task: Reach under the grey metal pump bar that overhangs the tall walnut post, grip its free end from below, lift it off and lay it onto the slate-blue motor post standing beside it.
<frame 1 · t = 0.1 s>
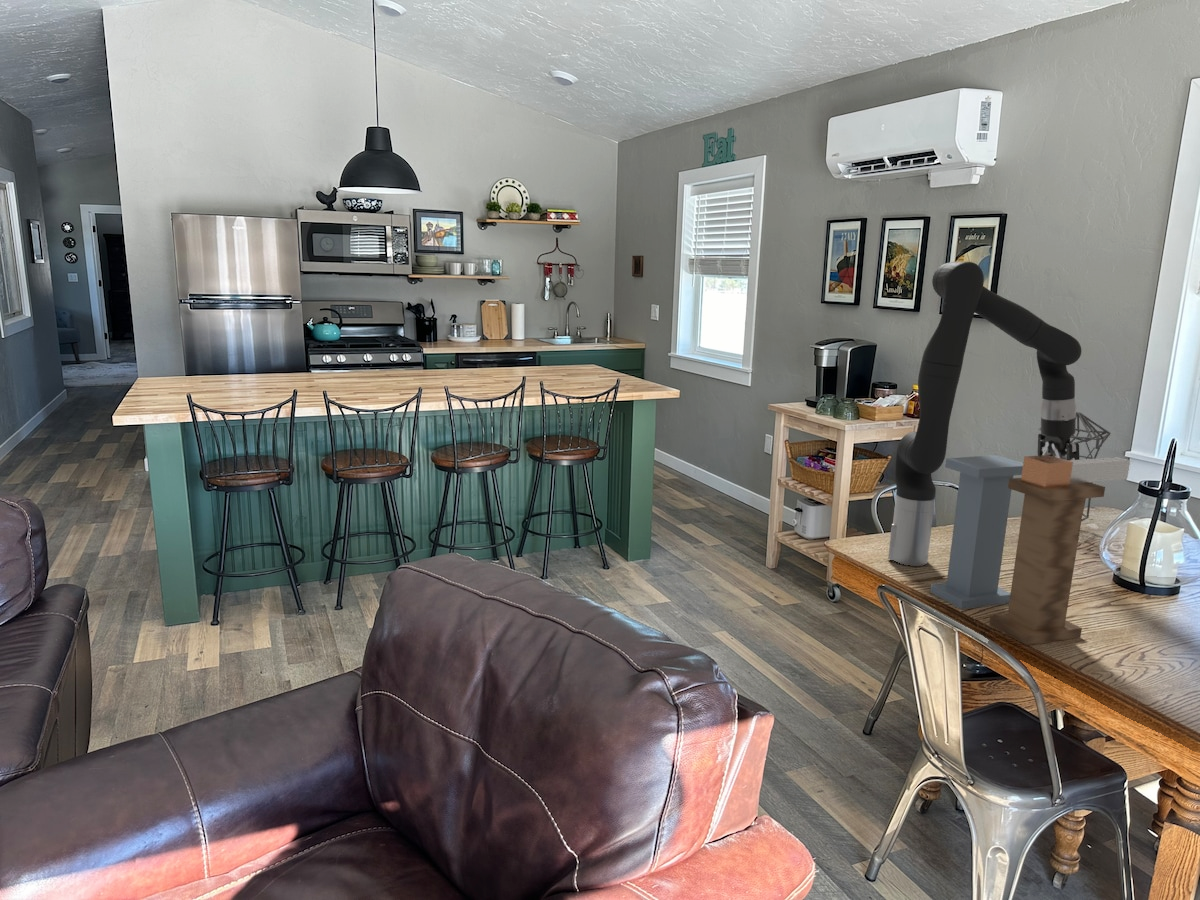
hand: (1057, 478, 205), 22 cm above the table, tool pointing down, fingers open, 8 cm apart
walnut post: (1034, 630, 169), on the table
motor post: (970, 597, 186), on the table
geometric lantern: (1058, 530, 237), on the table
pump bar: (1056, 482, 162), point 32 cm above the table, touching walnut post
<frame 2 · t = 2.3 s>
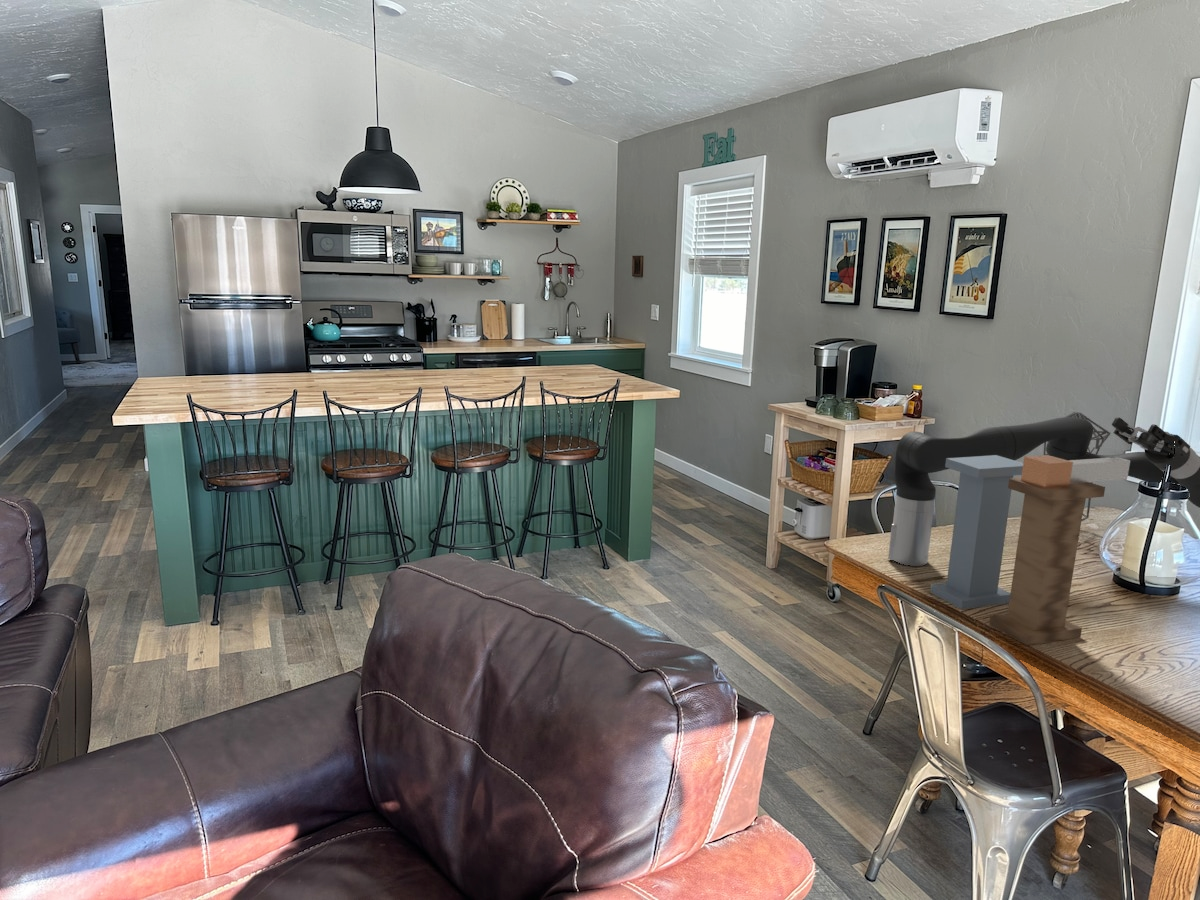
hand: (1132, 424, 178), 41 cm above the table, tool pointing upward, fingers open, 8 cm apart
nothing on the table moved.
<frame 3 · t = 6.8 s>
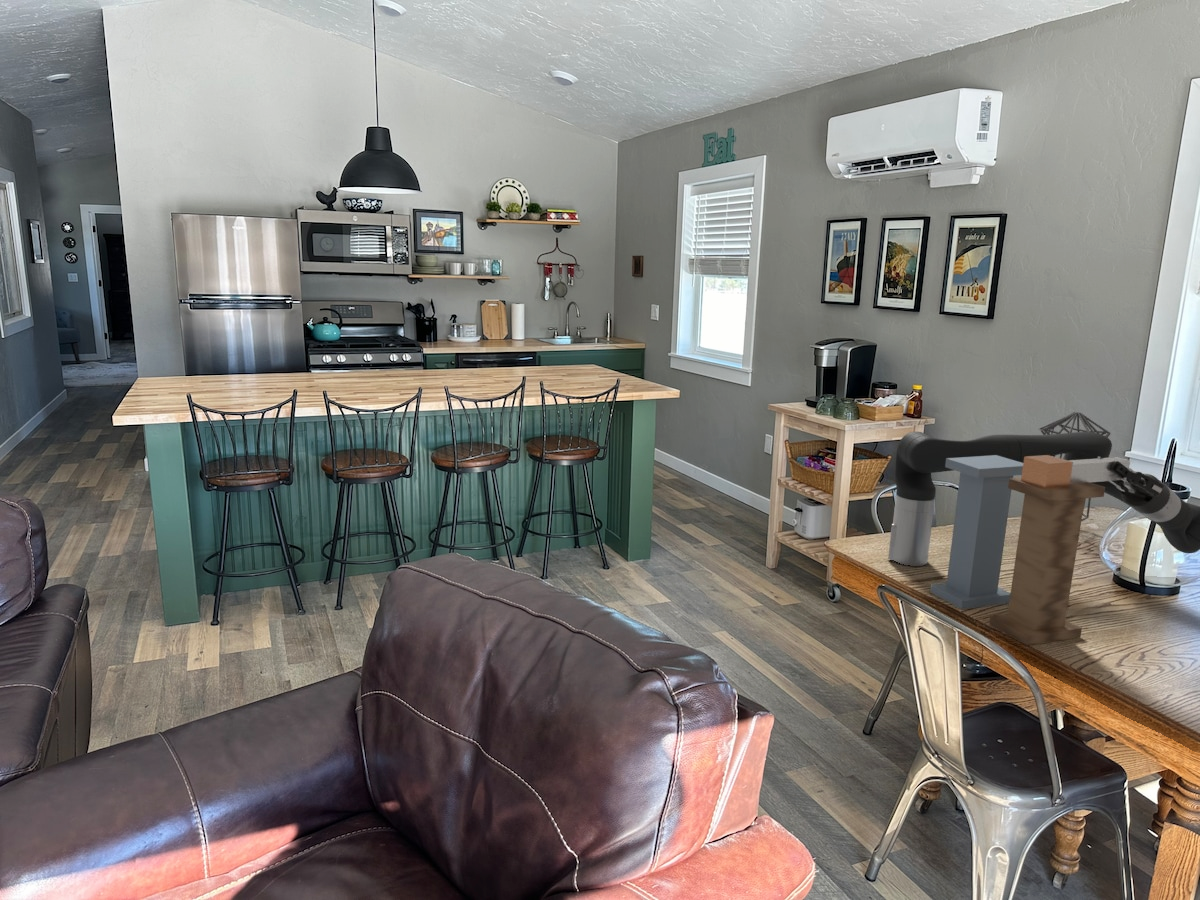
hand: (1104, 462, 165), 35 cm above the table, tool pointing upward, fingers closed on pump bar, 3 cm apart
pump bar: (1056, 482, 162), point 32 cm above the table, touching gripper, walnut post
everything else where it was.
when the fingers open (36 cm above the table, at t = 13.3 s): pump bar stays where it is, resting on motor post.
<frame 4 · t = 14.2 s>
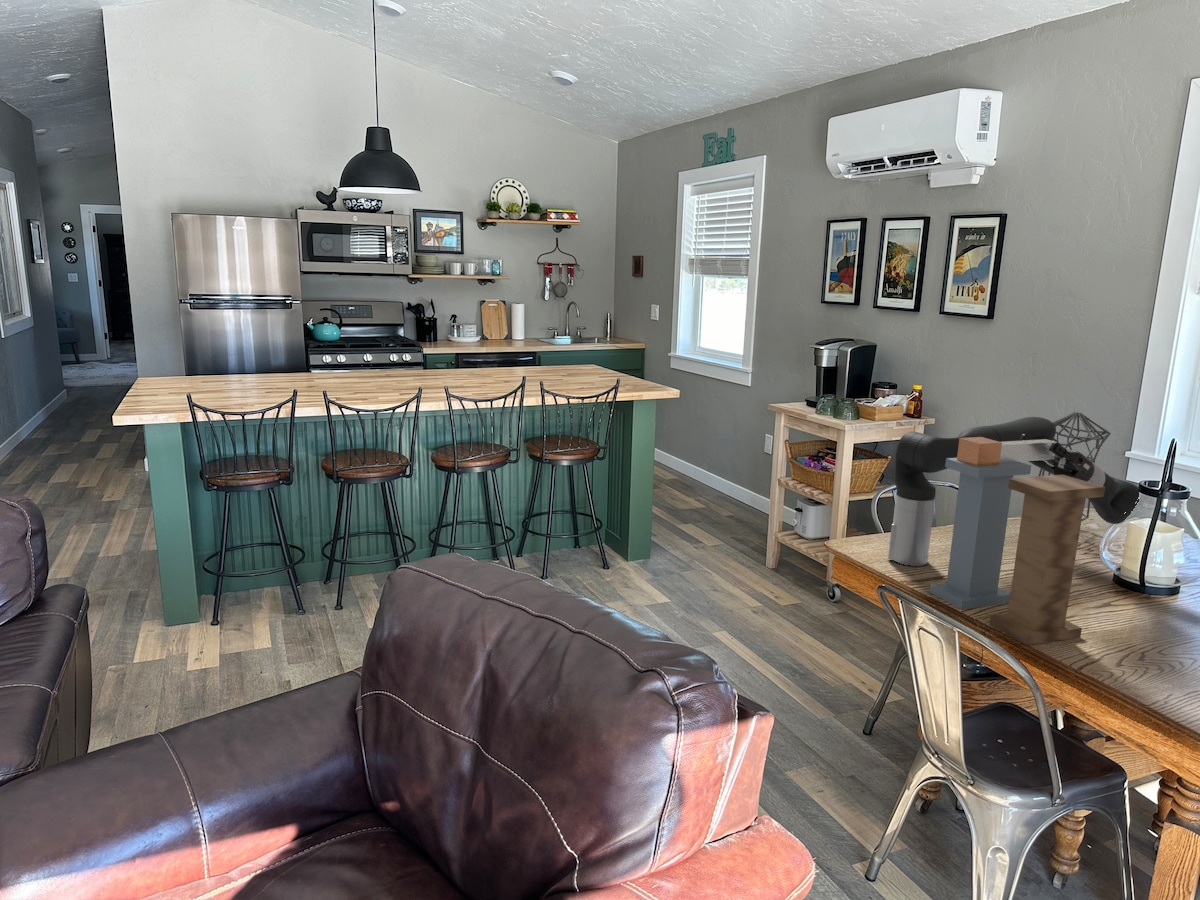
hand: (1036, 441, 182), 36 cm above the table, tool pointing upward, fingers open, 8 cm apart
pump bar: (988, 461, 179), point 32 cm above the table, touching motor post
everything else where it was.
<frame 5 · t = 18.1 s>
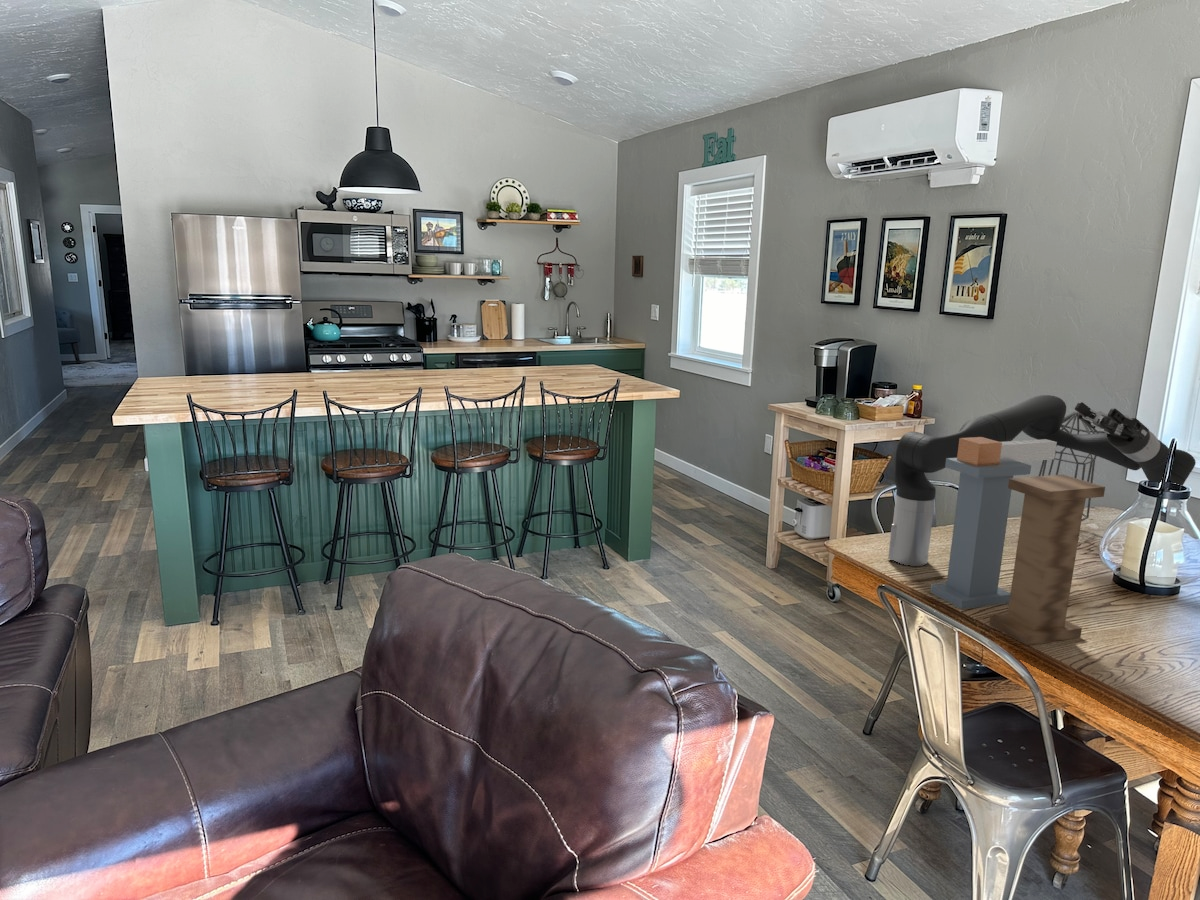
hand: (1093, 408, 185), 43 cm above the table, tool pointing upward, fingers open, 8 cm apart
nothing on the table moved.
at the end: pump bar inside the target area on the motor post (0.1 cm from its centre), point 32.0 cm above the motor post's base; the gripper is holding nothing; pump bar tilted 0° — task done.
